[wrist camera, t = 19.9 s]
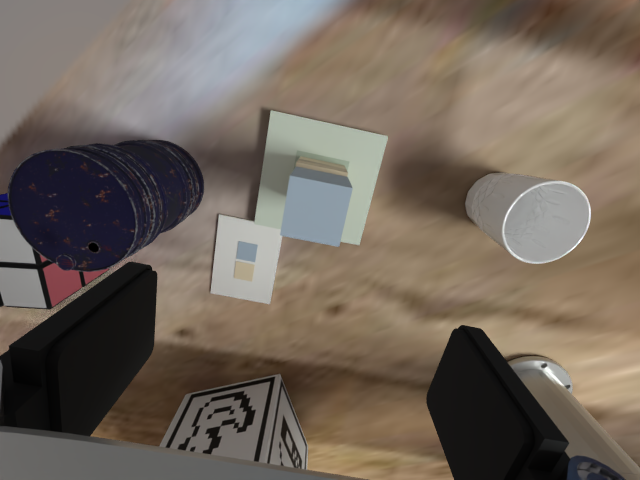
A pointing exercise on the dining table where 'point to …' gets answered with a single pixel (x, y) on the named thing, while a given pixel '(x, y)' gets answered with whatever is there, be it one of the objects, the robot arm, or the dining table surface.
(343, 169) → the maple block
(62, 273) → the puzzle cube
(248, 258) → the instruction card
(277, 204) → the board
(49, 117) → the dining table surface
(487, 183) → the white cup
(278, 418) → the block
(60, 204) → the storage jar
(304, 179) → the slate block
